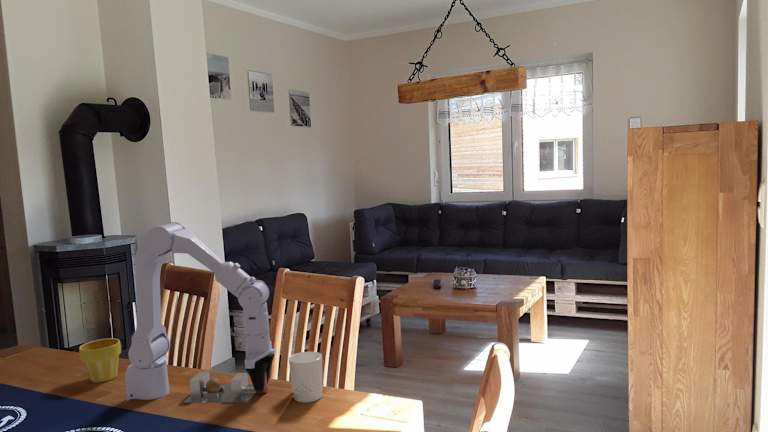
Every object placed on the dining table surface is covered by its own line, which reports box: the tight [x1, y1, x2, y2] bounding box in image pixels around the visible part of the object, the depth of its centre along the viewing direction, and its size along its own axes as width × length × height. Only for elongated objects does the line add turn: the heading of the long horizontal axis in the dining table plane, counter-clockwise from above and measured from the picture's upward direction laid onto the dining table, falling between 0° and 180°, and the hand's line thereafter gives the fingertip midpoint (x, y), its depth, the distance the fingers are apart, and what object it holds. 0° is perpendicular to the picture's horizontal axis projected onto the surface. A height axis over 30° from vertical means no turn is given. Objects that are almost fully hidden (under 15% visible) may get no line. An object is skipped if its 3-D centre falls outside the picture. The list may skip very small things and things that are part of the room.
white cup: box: [288, 351, 323, 404], centre depth 145 cm, size 8×8×10 cm
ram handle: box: [230, 372, 268, 395], centre depth 146 cm, size 8×5×5 cm, turn 83°
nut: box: [206, 377, 222, 393], centre depth 148 cm, size 4×4×4 cm
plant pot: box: [78, 337, 122, 383], centre depth 166 cm, size 10×10×10 cm
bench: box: [182, 370, 257, 404], centre depth 147 cm, size 16×11×6 cm
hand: (261, 387), depth 146 cm, fingers closed on ram handle, 3 cm apart
